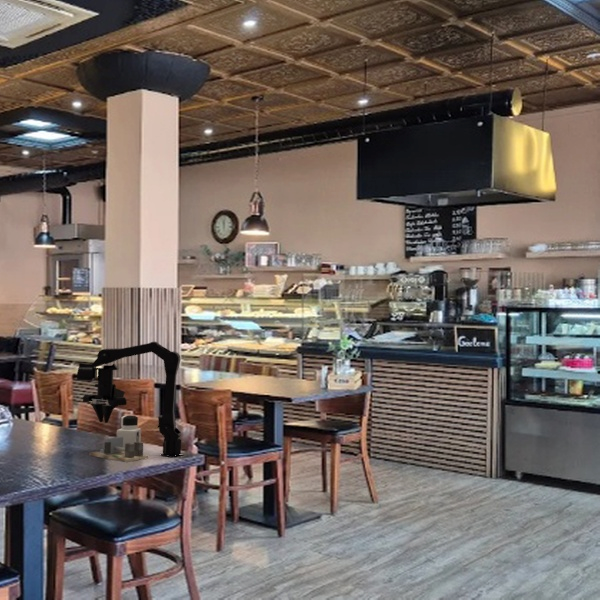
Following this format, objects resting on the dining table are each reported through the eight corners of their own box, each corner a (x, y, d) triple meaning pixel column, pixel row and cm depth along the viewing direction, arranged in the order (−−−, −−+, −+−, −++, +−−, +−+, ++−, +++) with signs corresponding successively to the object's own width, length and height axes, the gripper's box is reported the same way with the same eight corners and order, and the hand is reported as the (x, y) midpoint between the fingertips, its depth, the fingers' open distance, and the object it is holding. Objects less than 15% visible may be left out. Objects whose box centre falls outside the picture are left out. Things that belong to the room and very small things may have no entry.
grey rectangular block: (133, 453, 300) (133, 438, 300) (114, 456, 292) (114, 441, 292) (119, 451, 304) (119, 436, 304) (99, 454, 296) (100, 439, 297)
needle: (110, 453, 296) (110, 442, 296) (107, 453, 294) (107, 442, 294) (107, 452, 297) (107, 441, 297) (104, 453, 295) (104, 442, 295)
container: (140, 447, 322) (141, 415, 323) (134, 450, 315) (136, 417, 315) (122, 446, 323) (123, 414, 323) (115, 449, 315) (117, 416, 316)
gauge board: (148, 458, 298) (148, 442, 298) (126, 461, 289) (126, 445, 289) (111, 451, 309) (112, 436, 309) (89, 455, 300) (90, 439, 300)
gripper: (137, 382, 306) (136, 422, 306) (104, 379, 317) (103, 418, 316) (115, 383, 297) (114, 425, 296) (82, 380, 308) (81, 420, 307)
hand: (103, 422), depth 304 cm, fingers open, 3 cm apart
